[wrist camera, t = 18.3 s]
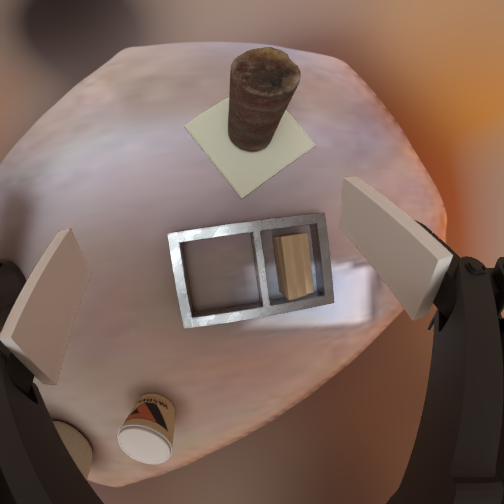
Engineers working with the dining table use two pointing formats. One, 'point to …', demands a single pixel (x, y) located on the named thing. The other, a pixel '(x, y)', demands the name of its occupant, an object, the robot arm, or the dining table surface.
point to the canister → (76, 446)
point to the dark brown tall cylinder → (259, 96)
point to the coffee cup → (149, 430)
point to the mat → (243, 162)
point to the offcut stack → (293, 265)
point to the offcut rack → (265, 305)
